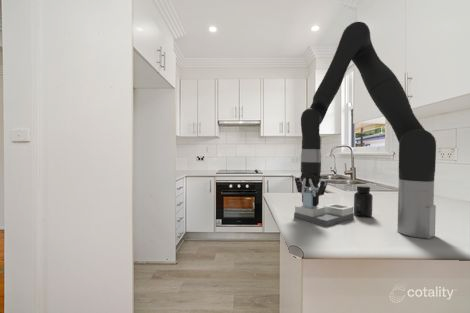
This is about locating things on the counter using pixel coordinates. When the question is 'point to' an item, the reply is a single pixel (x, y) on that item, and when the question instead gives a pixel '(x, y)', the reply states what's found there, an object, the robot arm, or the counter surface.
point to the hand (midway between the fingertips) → (310, 204)
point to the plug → (308, 199)
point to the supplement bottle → (363, 202)
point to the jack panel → (324, 214)
